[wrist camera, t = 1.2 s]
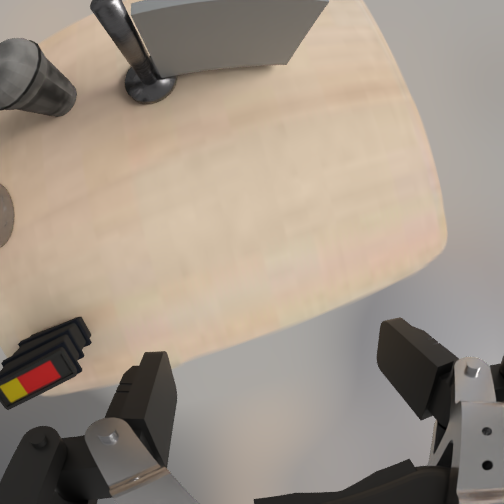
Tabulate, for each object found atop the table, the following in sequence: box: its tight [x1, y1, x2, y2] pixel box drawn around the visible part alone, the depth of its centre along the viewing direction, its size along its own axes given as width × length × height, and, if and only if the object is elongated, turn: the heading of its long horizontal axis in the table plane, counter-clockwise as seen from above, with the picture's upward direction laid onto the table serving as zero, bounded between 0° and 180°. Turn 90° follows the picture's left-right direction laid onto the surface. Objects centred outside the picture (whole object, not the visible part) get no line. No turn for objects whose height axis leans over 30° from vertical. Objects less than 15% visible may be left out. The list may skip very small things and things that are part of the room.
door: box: [131, 0, 329, 78], centre depth 21 cm, size 14×2×14 cm, turn 97°
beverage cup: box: [0, 38, 77, 117], centre depth 18 cm, size 7×7×20 cm
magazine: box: [0, 317, 92, 410], centre depth 28 cm, size 4×13×15 cm, turn 110°
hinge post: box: [90, 0, 177, 104], centre depth 20 cm, size 6×6×18 cm
